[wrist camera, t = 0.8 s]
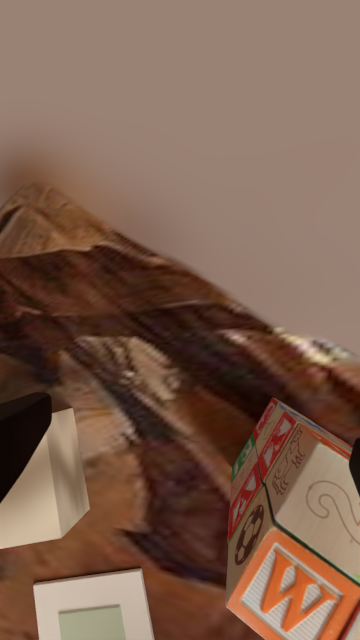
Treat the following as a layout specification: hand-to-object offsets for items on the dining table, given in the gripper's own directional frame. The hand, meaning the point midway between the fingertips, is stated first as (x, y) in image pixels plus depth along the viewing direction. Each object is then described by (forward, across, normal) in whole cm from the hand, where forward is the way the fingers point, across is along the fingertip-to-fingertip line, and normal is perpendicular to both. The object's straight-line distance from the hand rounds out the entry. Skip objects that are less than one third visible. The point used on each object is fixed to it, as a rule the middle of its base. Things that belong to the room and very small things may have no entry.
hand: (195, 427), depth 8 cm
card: (+6, +5, +24) cm, 25 cm away
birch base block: (+11, +12, +14) cm, 22 cm away
